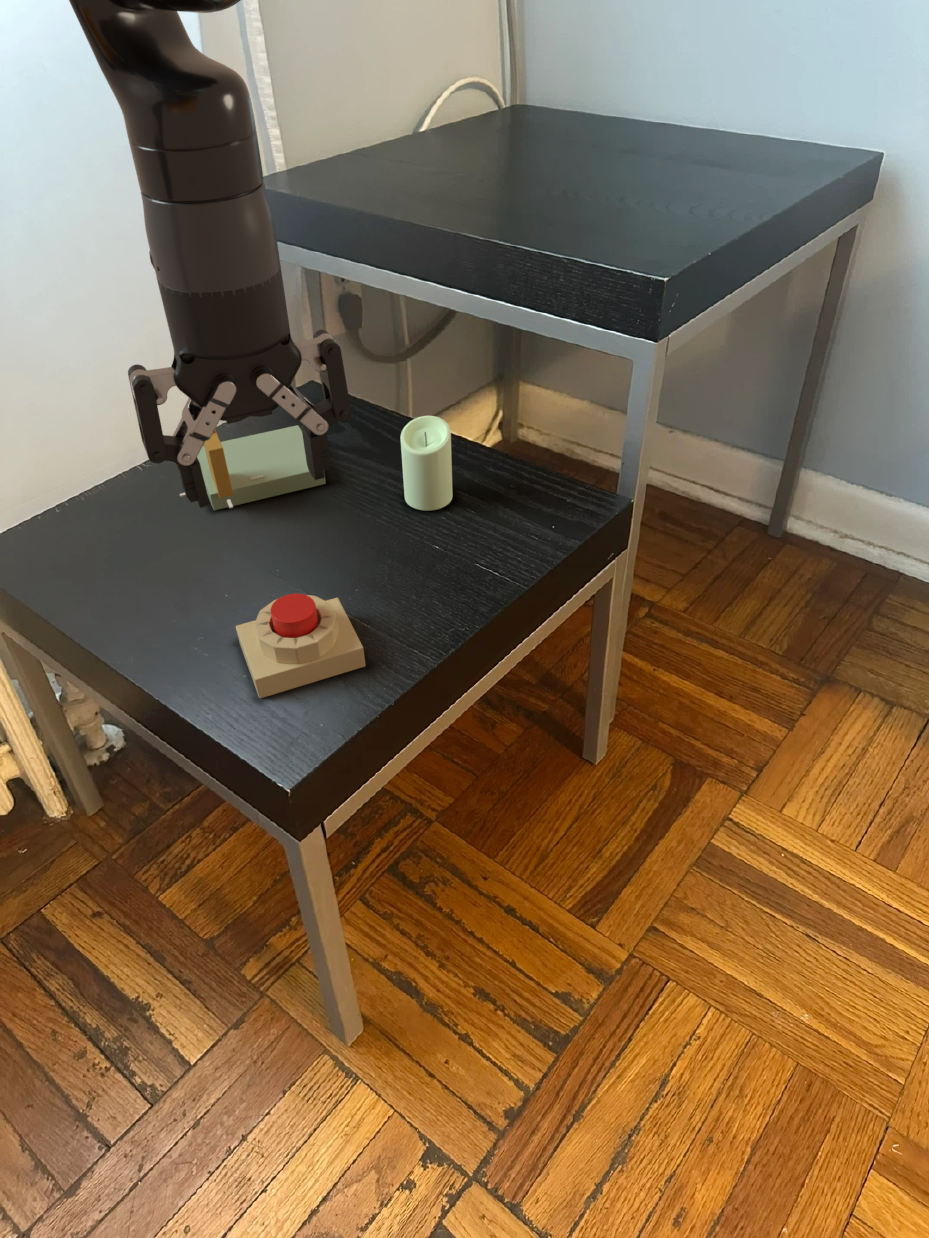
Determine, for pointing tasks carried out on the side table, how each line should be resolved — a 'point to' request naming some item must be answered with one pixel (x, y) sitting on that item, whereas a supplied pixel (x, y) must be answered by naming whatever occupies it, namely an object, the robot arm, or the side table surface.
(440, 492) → the candle
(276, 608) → the button
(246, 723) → the side table surface
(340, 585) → the side table surface
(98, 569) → the side table surface
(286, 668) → the button box
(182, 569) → the side table surface
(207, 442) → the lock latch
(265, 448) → the plate
